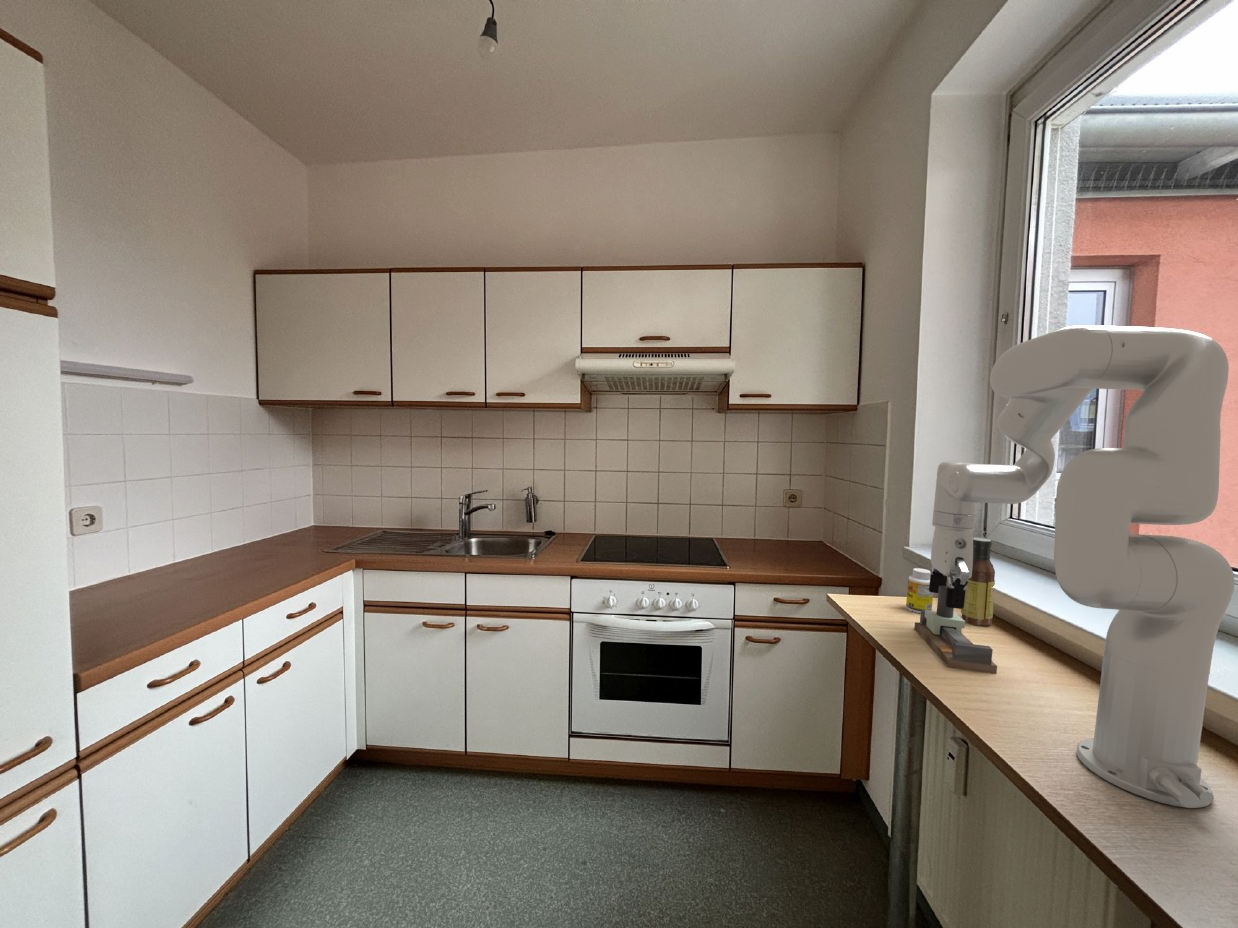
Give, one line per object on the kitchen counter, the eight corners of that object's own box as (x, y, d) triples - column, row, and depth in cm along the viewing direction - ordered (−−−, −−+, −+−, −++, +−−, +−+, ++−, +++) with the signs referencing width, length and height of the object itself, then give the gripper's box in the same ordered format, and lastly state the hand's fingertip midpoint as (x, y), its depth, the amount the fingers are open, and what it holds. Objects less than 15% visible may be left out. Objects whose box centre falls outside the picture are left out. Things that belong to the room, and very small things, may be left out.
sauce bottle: (982, 618, 128) (990, 537, 127) (997, 628, 122) (1006, 542, 120) (953, 616, 129) (961, 535, 127) (967, 625, 122) (976, 540, 121)
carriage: (963, 637, 110) (967, 592, 109) (931, 633, 111) (935, 589, 111) (954, 628, 115) (958, 585, 114) (923, 625, 116) (927, 582, 116)
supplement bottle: (904, 605, 135) (907, 565, 134) (928, 608, 133) (932, 568, 132) (907, 612, 130) (911, 571, 129) (933, 616, 128) (937, 574, 127)
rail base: (996, 673, 98) (998, 649, 98) (948, 667, 100) (950, 644, 99) (953, 633, 117) (955, 613, 117) (914, 628, 119) (916, 608, 119)
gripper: (992, 530, 102) (983, 616, 104) (957, 515, 119) (949, 589, 120) (949, 526, 104) (940, 611, 105) (920, 512, 121) (913, 585, 122)
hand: (945, 599), depth 113 cm, fingers open, 9 cm apart
